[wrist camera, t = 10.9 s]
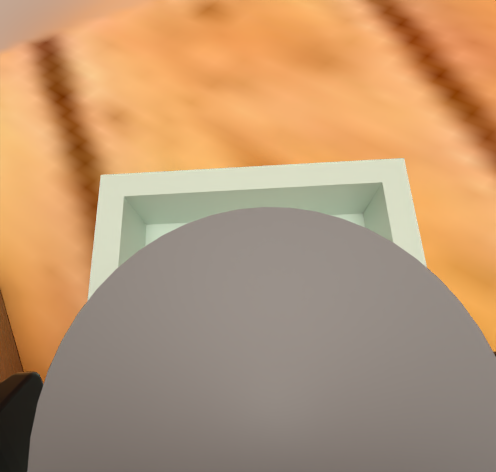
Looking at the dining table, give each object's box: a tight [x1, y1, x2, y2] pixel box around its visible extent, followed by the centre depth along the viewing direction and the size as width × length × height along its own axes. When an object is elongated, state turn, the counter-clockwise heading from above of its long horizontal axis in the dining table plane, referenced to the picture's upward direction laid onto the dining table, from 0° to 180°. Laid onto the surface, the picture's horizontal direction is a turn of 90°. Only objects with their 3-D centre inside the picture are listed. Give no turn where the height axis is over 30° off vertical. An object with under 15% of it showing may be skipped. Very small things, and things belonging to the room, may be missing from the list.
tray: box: [88, 158, 427, 300], centre depth 14 cm, size 16×12×4 cm
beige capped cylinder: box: [27, 207, 496, 472], centre depth 9 cm, size 4×4×13 cm
